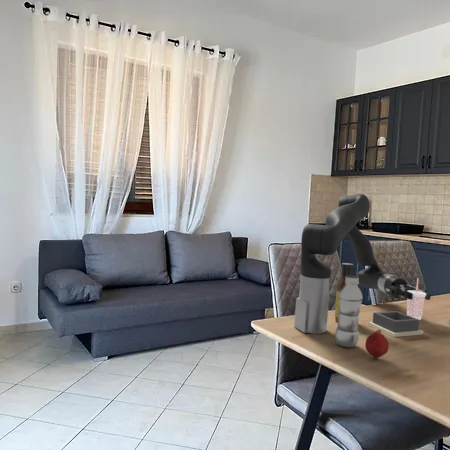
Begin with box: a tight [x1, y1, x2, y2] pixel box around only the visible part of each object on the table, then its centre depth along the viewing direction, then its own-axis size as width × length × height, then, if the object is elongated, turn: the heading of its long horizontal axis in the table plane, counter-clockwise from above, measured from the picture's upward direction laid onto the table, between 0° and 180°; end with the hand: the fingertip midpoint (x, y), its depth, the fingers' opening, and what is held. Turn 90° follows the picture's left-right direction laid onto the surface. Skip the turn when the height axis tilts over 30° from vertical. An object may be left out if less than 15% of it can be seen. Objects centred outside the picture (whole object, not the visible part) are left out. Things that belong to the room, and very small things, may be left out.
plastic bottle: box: [334, 275, 363, 348], centre depth 124 cm, size 6×7×20 cm
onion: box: [364, 329, 390, 360], centre depth 116 cm, size 6×6×8 cm
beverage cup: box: [406, 277, 426, 321], centre depth 150 cm, size 6×6×14 cm
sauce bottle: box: [334, 262, 355, 323], centre depth 148 cm, size 7×6×20 cm
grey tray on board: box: [367, 310, 424, 338], centre depth 143 cm, size 12×12×4 cm
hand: (420, 296), depth 147 cm, fingers closed on beverage cup, 6 cm apart
